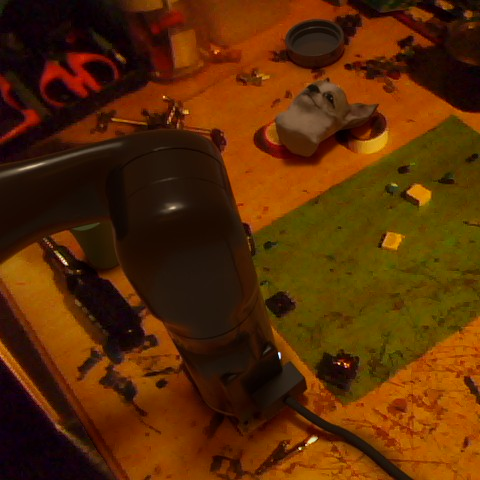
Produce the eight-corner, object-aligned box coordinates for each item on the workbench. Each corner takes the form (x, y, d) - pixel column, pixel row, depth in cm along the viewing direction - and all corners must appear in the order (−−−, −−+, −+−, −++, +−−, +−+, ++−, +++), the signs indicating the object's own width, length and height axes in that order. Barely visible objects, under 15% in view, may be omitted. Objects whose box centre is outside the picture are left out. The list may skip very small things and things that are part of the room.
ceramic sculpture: (247, 96, 87) (323, 42, 93) (255, 145, 93) (325, 91, 100) (309, 132, 82) (384, 72, 89) (312, 181, 89) (382, 122, 96)
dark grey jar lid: (356, 50, 104) (355, 36, 102) (311, 77, 101) (309, 64, 99) (319, 24, 109) (318, 11, 107) (275, 50, 106) (273, 37, 104)
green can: (135, 253, 84) (114, 214, 78) (100, 276, 83) (76, 237, 76) (116, 230, 87) (94, 190, 80) (82, 251, 85) (57, 212, 79)
